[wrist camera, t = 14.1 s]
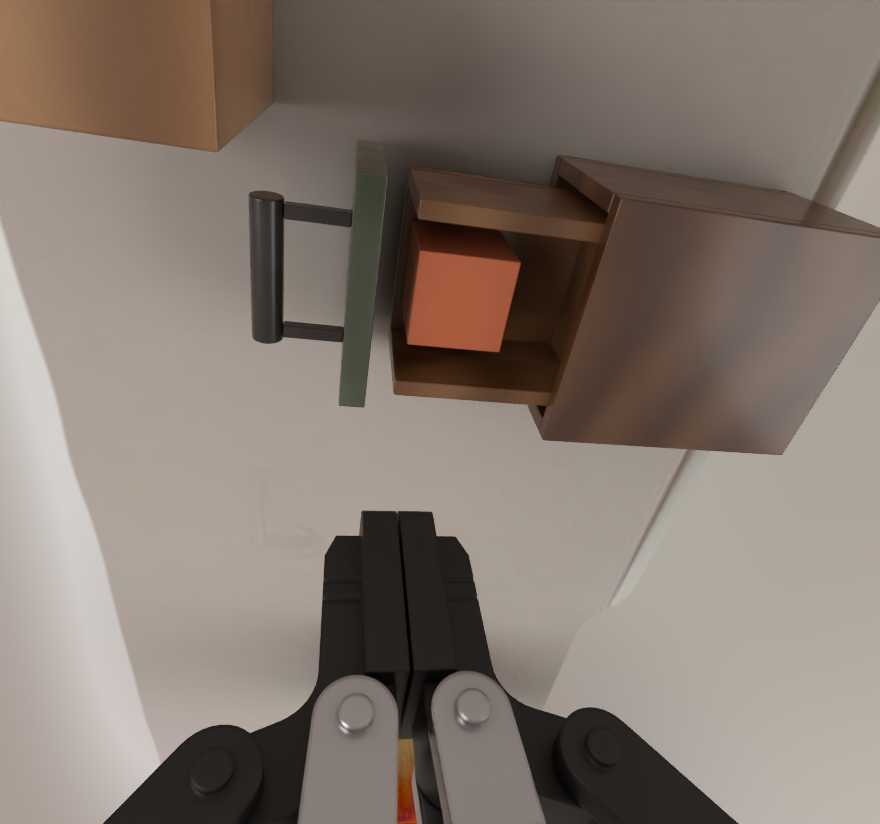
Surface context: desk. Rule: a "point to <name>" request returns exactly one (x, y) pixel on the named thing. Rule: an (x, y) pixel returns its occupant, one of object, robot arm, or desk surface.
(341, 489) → the desk surface
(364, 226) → the drawer
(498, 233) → the block
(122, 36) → the stand
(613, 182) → the cabinet
